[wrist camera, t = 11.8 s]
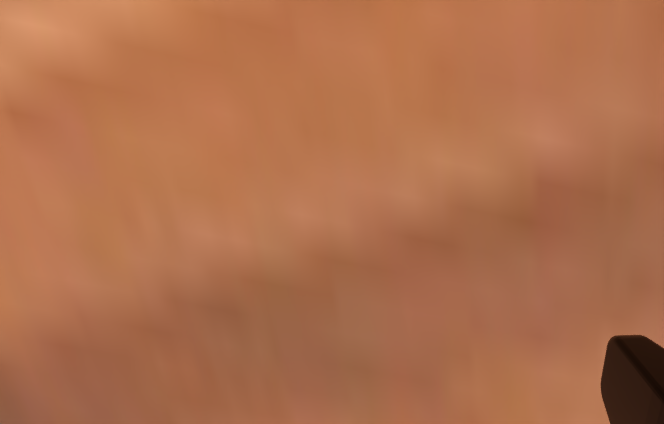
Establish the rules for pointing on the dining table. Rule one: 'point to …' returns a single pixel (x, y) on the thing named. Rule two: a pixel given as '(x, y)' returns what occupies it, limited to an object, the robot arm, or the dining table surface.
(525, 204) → the dining table surface
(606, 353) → the robot arm
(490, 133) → the dining table surface
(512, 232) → the dining table surface
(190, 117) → the dining table surface
